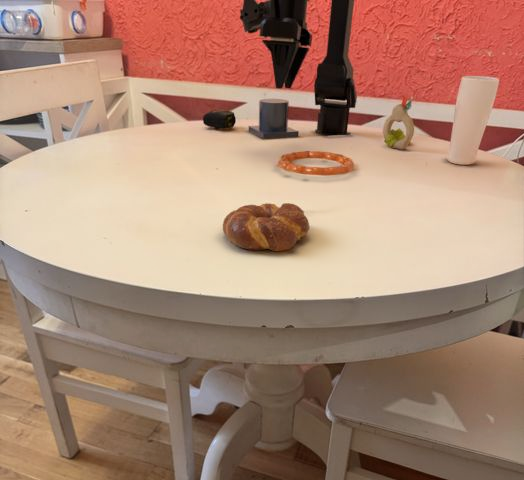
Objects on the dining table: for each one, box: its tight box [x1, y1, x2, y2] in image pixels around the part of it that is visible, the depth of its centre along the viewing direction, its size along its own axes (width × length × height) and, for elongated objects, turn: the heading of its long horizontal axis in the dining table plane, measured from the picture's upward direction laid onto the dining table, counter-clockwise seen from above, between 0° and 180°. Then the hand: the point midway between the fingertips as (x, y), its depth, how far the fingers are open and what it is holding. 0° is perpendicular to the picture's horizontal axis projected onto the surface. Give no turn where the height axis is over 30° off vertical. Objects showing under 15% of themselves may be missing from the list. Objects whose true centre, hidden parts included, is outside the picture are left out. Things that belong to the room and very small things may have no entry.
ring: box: [277, 150, 355, 177], centre depth 92 cm, size 14×14×2 cm
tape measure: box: [202, 109, 237, 131], centre depth 122 cm, size 7×7×4 cm
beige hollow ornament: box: [382, 90, 415, 151], centre depth 107 cm, size 8×8×12 cm
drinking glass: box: [446, 75, 500, 166], centre depth 96 cm, size 7×7×15 cm
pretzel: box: [222, 202, 311, 252], centre depth 64 cm, size 12×11×4 cm
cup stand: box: [248, 98, 300, 140], centre depth 117 cm, size 9×9×7 cm
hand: (283, 88), depth 92 cm, fingers open, 9 cm apart
